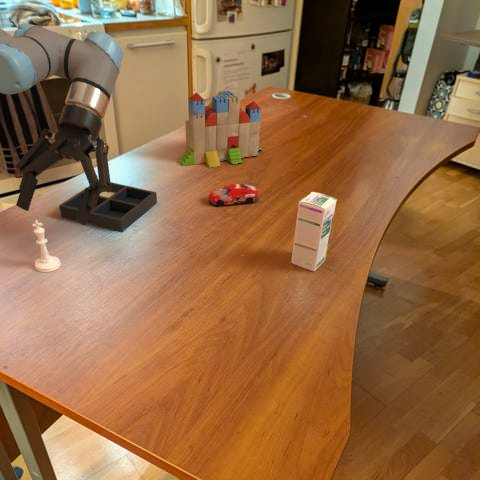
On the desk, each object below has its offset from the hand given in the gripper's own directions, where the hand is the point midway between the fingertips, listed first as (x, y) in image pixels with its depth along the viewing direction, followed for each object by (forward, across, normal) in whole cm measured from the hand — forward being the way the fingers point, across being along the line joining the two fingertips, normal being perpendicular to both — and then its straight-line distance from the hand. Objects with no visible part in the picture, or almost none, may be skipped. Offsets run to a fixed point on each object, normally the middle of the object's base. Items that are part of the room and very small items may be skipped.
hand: (50, 215), depth 89 cm
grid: (-9, +2, -22) cm, 24 cm away
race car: (-22, -23, -35) cm, 47 cm away
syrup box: (-7, -48, -21) cm, 53 cm away
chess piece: (+9, 0, -4) cm, 10 cm away
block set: (-41, -9, -54) cm, 68 cm away
